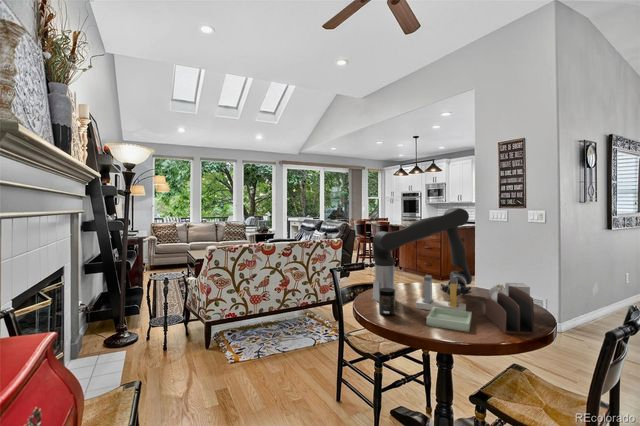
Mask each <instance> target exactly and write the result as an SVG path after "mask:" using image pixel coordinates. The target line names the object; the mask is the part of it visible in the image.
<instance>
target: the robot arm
mask: <svg viewBox="0 0 640 426" xmlns="http://www.w3.org/2000/svg"><path fill="white" fill-rule="evenodd" d="M469 215H470V214H469V212H468V211H467V210H466V209H464V208H461V207H460V208H459V207H456V208H455V207H454V208H448V209H445V211H444V213H443V214H442V215H436V216H431V217H426V218H422V219H419V220H415V221H413V222H411V223H409V225H407V226H406V227H404V228H402V229H399V230H396V231H390V232H389V231H381V230H380V231H377V232H376V233H375V234H374V236H373V239H372V251H373V253H372V256H373V260H374V279H373V282H372V286H373V287H372V290H373V291H372V292H373V293H372V296H373V297H372V298H373V299H374V301H376V302H378V303H379V289H380V288H392V289H395V259H394V257H393V256H392V254H391V251H394V250H396V249H398V248H400V247H403V246H405V245H406V244H410V243H413V242H416V241H419V240H423V239H426V238H429V237H432V236H434V235H436V234H437V235H438V234H439V233H442V232H443V231H446V235H447V237H448V243H449V246H450V254H451V256H450V257H451V265H452V266H453V267H456V268H460V269H462V270H452V271H451V272H450V273H449V281H448V284H443V283H441V284H440V290H441V291H442V292H443V293H446V294H447V295H449V296H450V279H451V277H458V289H457V291H456V296H458V297H459V296H461V295H463V296H465V295H469V294H472V286H469V285H471V284H472V281H473V277H472V273H471V272H470V269H469V266H468V262H467V252H466V247H465V246H464V243H463V241H462V240H461V239H462V238H461V237H460V235H459V231H458V230H459V229H458V228H459V227H462V226H464V225H466V224H467V223H468V221H469V218H470V216H469Z"/></svg>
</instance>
